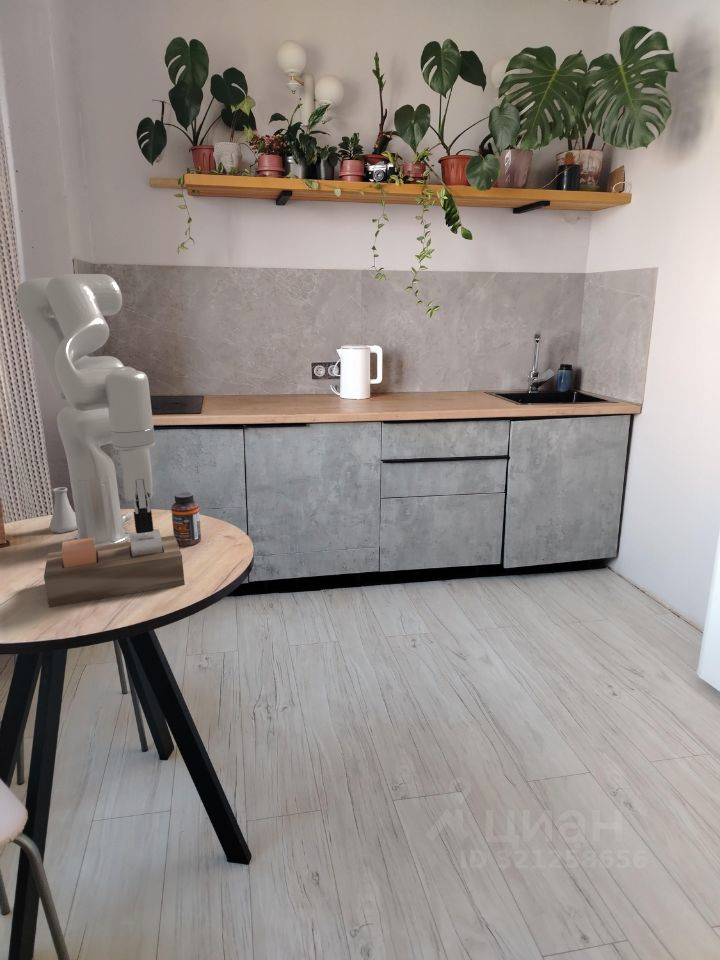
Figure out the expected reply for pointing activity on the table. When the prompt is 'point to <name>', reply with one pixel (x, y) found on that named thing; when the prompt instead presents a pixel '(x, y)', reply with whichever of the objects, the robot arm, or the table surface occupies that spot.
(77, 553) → the terracotta button
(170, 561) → the button console
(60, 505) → the flask
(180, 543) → the supplement bottle
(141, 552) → the metal button
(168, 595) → the table surface
